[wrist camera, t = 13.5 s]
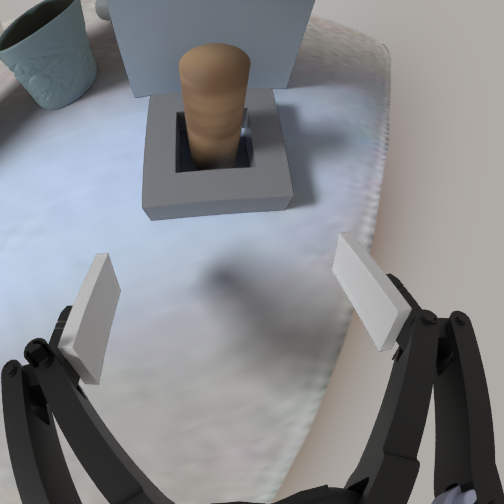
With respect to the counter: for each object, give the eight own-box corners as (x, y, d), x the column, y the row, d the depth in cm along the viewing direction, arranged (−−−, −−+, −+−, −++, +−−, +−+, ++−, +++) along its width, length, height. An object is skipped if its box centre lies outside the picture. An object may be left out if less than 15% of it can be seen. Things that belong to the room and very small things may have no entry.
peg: (185, 147, 23) (170, 53, 13) (225, 132, 24) (232, 38, 14) (201, 183, 23) (192, 93, 12) (244, 166, 24) (263, 73, 13)
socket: (284, 210, 23) (293, 196, 20) (151, 220, 22) (141, 207, 19) (267, 108, 25) (272, 88, 22) (155, 115, 24) (150, 95, 21)
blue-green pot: (81, 52, 25) (58, -11, 14) (119, 71, 25) (96, -8, 13) (25, 101, 23) (-14, 44, 11) (53, 129, 23) (3, 59, 11)
